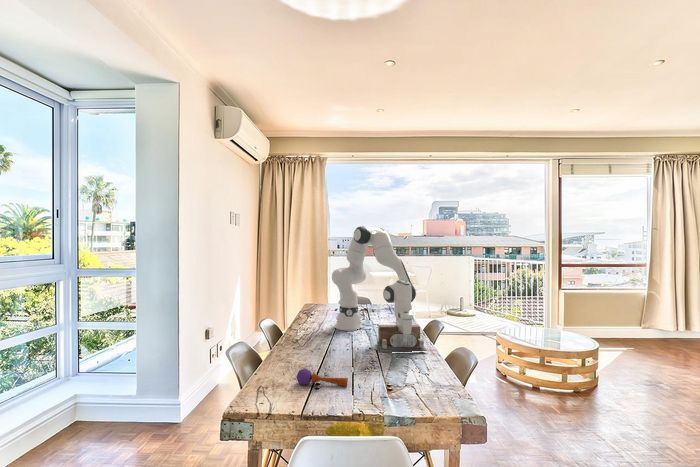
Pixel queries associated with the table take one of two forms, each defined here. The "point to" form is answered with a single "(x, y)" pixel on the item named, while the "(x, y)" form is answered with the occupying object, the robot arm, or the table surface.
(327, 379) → the kendama
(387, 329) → the cabinet
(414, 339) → the tin
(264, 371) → the table surface
